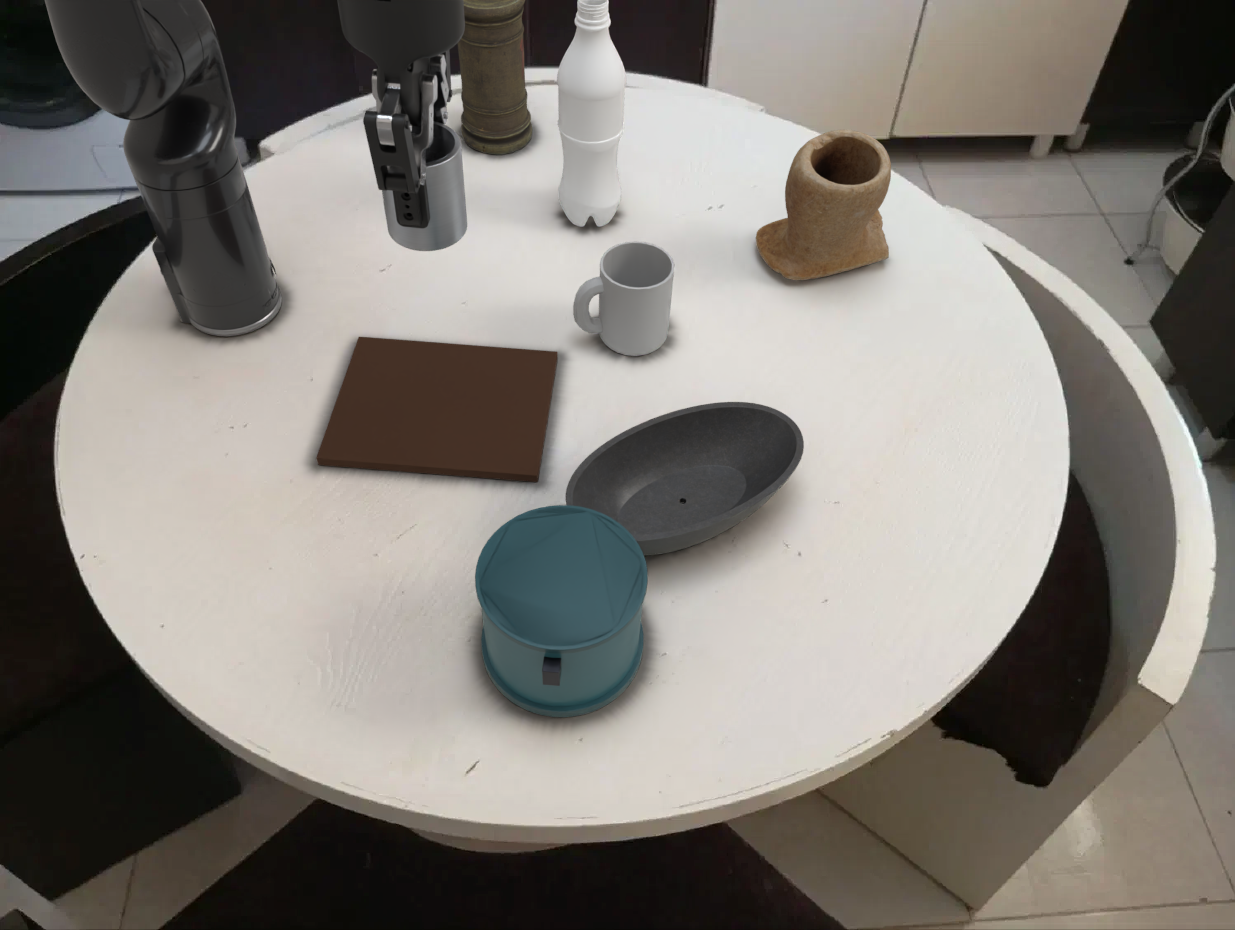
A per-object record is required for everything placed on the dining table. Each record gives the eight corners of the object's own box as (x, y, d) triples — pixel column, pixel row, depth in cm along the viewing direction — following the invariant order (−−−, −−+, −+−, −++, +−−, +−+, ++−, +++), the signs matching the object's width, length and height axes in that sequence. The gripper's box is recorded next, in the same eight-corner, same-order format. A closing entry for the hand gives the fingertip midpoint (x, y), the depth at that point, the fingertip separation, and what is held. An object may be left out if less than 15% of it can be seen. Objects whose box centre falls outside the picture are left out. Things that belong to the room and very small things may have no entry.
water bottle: (632, 210, 116) (644, -5, 96) (598, 241, 112) (603, 24, 92) (581, 188, 118) (582, -25, 99) (546, 219, 114) (540, 2, 95)
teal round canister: (467, 718, 75) (455, 653, 67) (496, 562, 84) (488, 489, 76) (637, 732, 74) (645, 669, 67) (647, 574, 83) (655, 502, 76)
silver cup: (379, 247, 71) (365, 162, 66) (397, 199, 75) (385, 115, 70) (459, 255, 71) (452, 171, 66) (473, 206, 75) (467, 123, 70)
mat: (318, 465, 90) (315, 458, 89) (360, 343, 100) (358, 336, 99) (538, 482, 89) (537, 475, 88) (557, 358, 99) (557, 351, 99)
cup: (677, 350, 101) (685, 282, 94) (582, 368, 99) (583, 300, 92) (655, 304, 105) (661, 236, 98) (564, 321, 103) (563, 252, 96)
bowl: (822, 514, 88) (836, 470, 83) (604, 614, 81) (606, 571, 76) (746, 423, 95) (756, 378, 90) (539, 508, 87) (537, 463, 83)
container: (505, 163, 121) (496, 18, 107) (446, 139, 124) (430, -5, 110) (547, 130, 126) (543, -14, 112) (490, 107, 128) (479, -35, 115)
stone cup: (787, 306, 106) (813, 186, 94) (742, 239, 113) (761, 120, 101) (911, 279, 109) (951, 160, 98) (860, 216, 116) (892, 98, 105)
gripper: (362, -100, 63) (394, 136, 76) (296, 8, 54) (346, 255, 67) (480, -89, 63) (492, 146, 76) (434, 21, 54) (456, 266, 67)
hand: (423, 196), depth 71 cm, fingers closed on silver cup, 6 cm apart
